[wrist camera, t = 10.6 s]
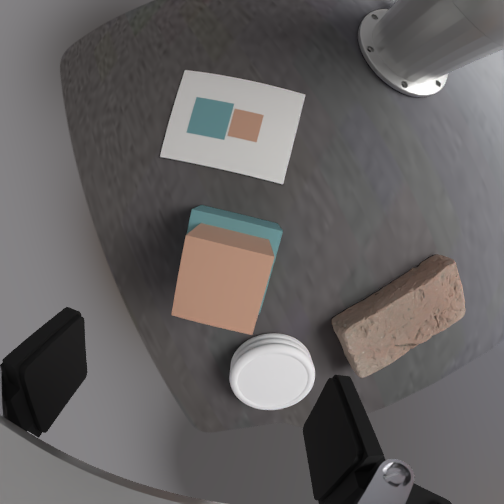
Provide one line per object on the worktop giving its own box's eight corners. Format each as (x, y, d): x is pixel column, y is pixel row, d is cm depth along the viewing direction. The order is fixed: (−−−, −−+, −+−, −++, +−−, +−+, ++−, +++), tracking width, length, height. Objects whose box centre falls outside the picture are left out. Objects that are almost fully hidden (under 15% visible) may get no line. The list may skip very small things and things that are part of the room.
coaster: (315, 385, 35) (320, 402, 31) (242, 400, 35) (241, 417, 32) (304, 322, 33) (310, 337, 29) (221, 340, 33) (218, 356, 30)
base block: (201, 204, 29) (191, 209, 24) (277, 223, 30) (282, 231, 25) (186, 277, 31) (175, 294, 26) (258, 294, 31) (259, 314, 27)
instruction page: (185, 70, 26) (184, 69, 25) (305, 95, 26) (305, 94, 26) (160, 156, 28) (159, 156, 28) (282, 184, 29) (282, 184, 28)
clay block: (201, 222, 25) (185, 235, 19) (268, 239, 25) (274, 256, 19) (187, 286, 26) (171, 315, 20) (251, 302, 26) (252, 334, 20)
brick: (350, 364, 34) (361, 385, 30) (326, 316, 32) (337, 336, 28) (449, 300, 33) (468, 314, 28) (436, 249, 31) (458, 258, 26)
